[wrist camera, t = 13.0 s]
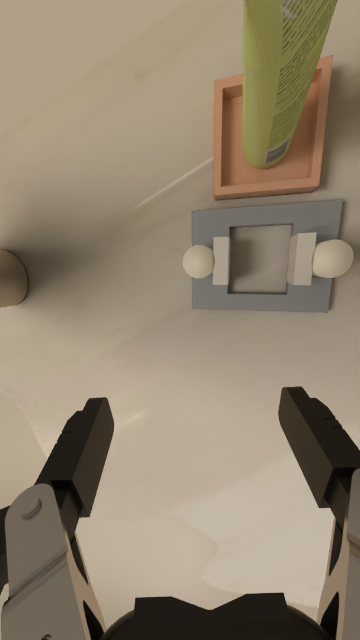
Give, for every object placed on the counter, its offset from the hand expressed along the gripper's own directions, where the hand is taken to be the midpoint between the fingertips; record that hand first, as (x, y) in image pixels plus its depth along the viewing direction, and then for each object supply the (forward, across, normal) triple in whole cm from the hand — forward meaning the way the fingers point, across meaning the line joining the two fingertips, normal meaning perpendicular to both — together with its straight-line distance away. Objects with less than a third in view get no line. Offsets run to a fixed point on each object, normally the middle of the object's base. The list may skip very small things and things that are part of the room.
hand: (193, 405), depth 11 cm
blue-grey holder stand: (+21, -9, -2) cm, 23 cm away
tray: (+24, -10, -14) cm, 29 cm away
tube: (+23, -10, -14) cm, 29 cm away
